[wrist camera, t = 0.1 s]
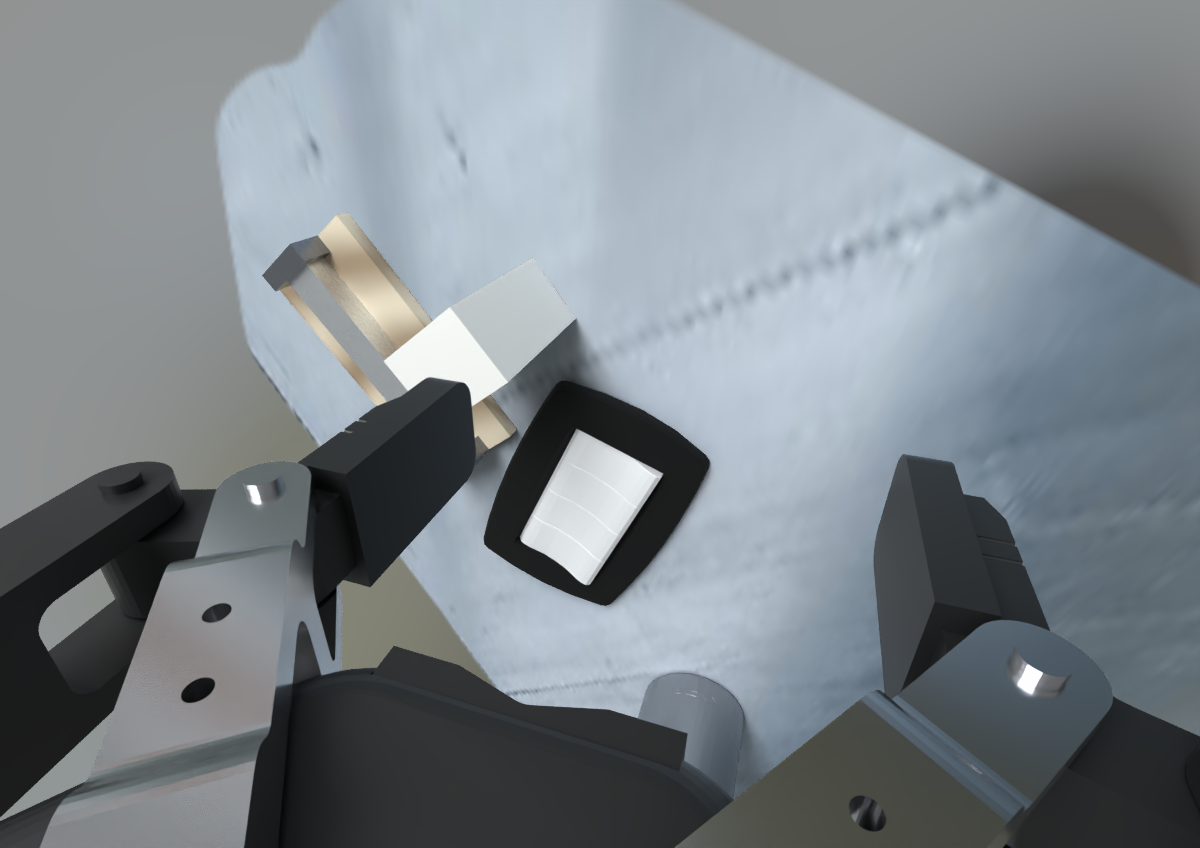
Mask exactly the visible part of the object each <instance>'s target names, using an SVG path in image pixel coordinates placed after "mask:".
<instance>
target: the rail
mask: <svg viewBox="0 0 1200 848" xmlns="http://www.w3.org/2000/svg"><path fill="white" fill-rule="evenodd" d="M330 252H331V251H330V250H329V249H328V248H327V246H326V245H325V244H324V243H323V241H322V240H321V239H320V238H319V236H315V237H312V238H308V239H305V240H302V241H299V242H295V243H292V244H290V245H289V246H288V247H287V248H286V249H285V250H284V251H283V253H282V254H281V255H280V256H279V257H278V258H277V259H276V260H275V262H274V263H273V264H272V265H271V266H270V267H269V268H268V269H267V271H266V272H265V273H264V274H263V275H262V276H263V277H264V278H265V279H266V281H267V282H268V283H269V284H270V285H271V286H272V288H273V289H274V290H275V291H278V290H281V289H284V288H286V287H289V286H292V287H293V289H294V290H295V291H296V292H297V293H298V295H299V296H300V297H301V298H302V299H303V301H304V302H305V303H306V304H307V306H308V307H309V308H310V309H311V310H312V312H313V313H314V314H315V315H316V316H317V318H318V319H319V320H320V321H321V322H322V324H323V325H324V326H325V327H326V328H327V330H328V331H329V332H330V333H331V334H332V336H333V337H334V338H335V339H336V341H337V342H338V343H339V344H340V345H341V347H342V348H343V349H344V350H345V351H346V353H347V354H348V355H349V356H350V357H351V359H352V360H353V361H354V362H355V363H356V365H357V366H358V367H359V368H360V369H361V371H362V372H363V373H364V374H365V376H366V377H367V378H368V379H369V380H370V382H371V383H372V384H373V385H374V386H375V388H376V389H377V390H378V391H379V392H380V394H381V395H382V396H383V397H384V398H385V400H386V401H387V402H388V401H390V400H393V399H395V398H398V397H401V396H402V395H404V394H405V393H406V392H408V391H407V389H406V388H405V387H404V386H403V384H402V383H401V382H400V381H399V379H398V378H397V377H396V376H395V375H394V373H393V372H392V371H391V370H390V368H389V367H388V366H387V365H386V364H385V362H384V360H385V359H387V358H388V357H389V356H390V355H392V354H393V353H394V352H395V351H397V350H398V349H399V348H398V347H397V346H396V345H395V343H394V342H393V341H392V340H391V338H390V337H389V336H388V335H387V333H386V332H385V331H384V330H383V328H382V327H381V326H380V325H379V323H378V322H377V321H376V320H375V318H374V317H373V316H372V315H371V314H370V312H369V311H368V310H367V309H366V307H365V306H364V305H363V304H362V302H361V301H360V300H359V299H358V297H357V296H356V295H355V294H354V292H353V291H352V290H351V289H350V287H349V286H348V285H347V284H346V282H345V281H344V280H343V279H342V277H341V276H340V275H339V274H338V273H337V271H336V270H335V269H334V268H333V266H332V265H331V264H330V263H329V261H328V260H327V259H326V256H327V255H328V254H329V253H330ZM475 446H476V458H475V464H476V463H477V462H478V461H479V460H480V459H481V457H482V456H483V455H484V454H485V453H486V452H487V451H488V450H489V449H488V447H487V446H486V445H485V444H484V442H483V441H482V440H481V439H480V437H479V436H477V437H475ZM475 464H474V465H475Z"/></svg>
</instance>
